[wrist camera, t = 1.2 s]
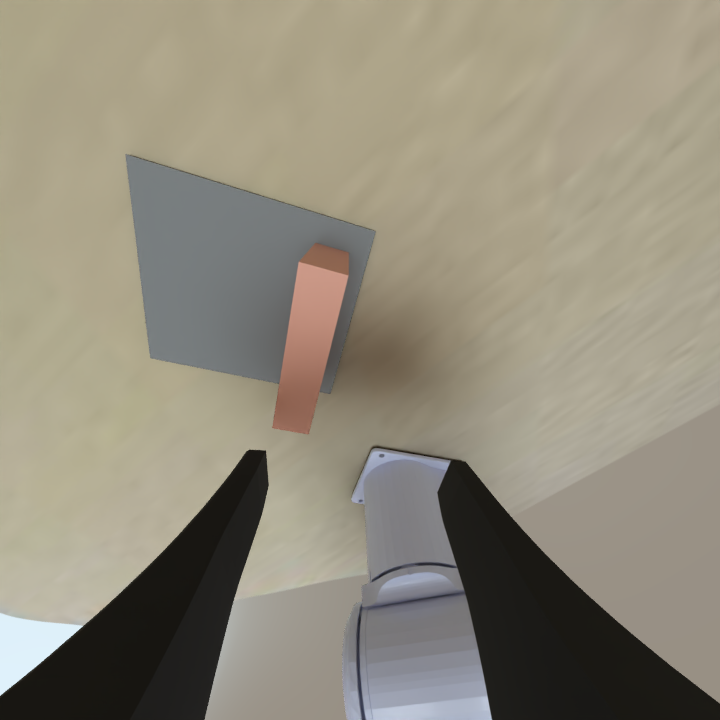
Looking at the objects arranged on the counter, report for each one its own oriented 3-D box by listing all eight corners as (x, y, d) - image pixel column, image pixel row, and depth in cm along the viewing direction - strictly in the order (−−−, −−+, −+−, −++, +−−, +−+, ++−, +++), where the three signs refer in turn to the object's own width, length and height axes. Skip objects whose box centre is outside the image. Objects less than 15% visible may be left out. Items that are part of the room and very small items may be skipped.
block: (348, 252, 16) (348, 275, 11) (319, 375, 20) (308, 434, 15) (315, 242, 16) (298, 261, 10) (292, 369, 20) (272, 428, 15)
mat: (375, 230, 16) (375, 231, 15) (330, 391, 21) (330, 393, 21) (130, 155, 14) (125, 154, 13) (153, 356, 19) (150, 358, 19)
